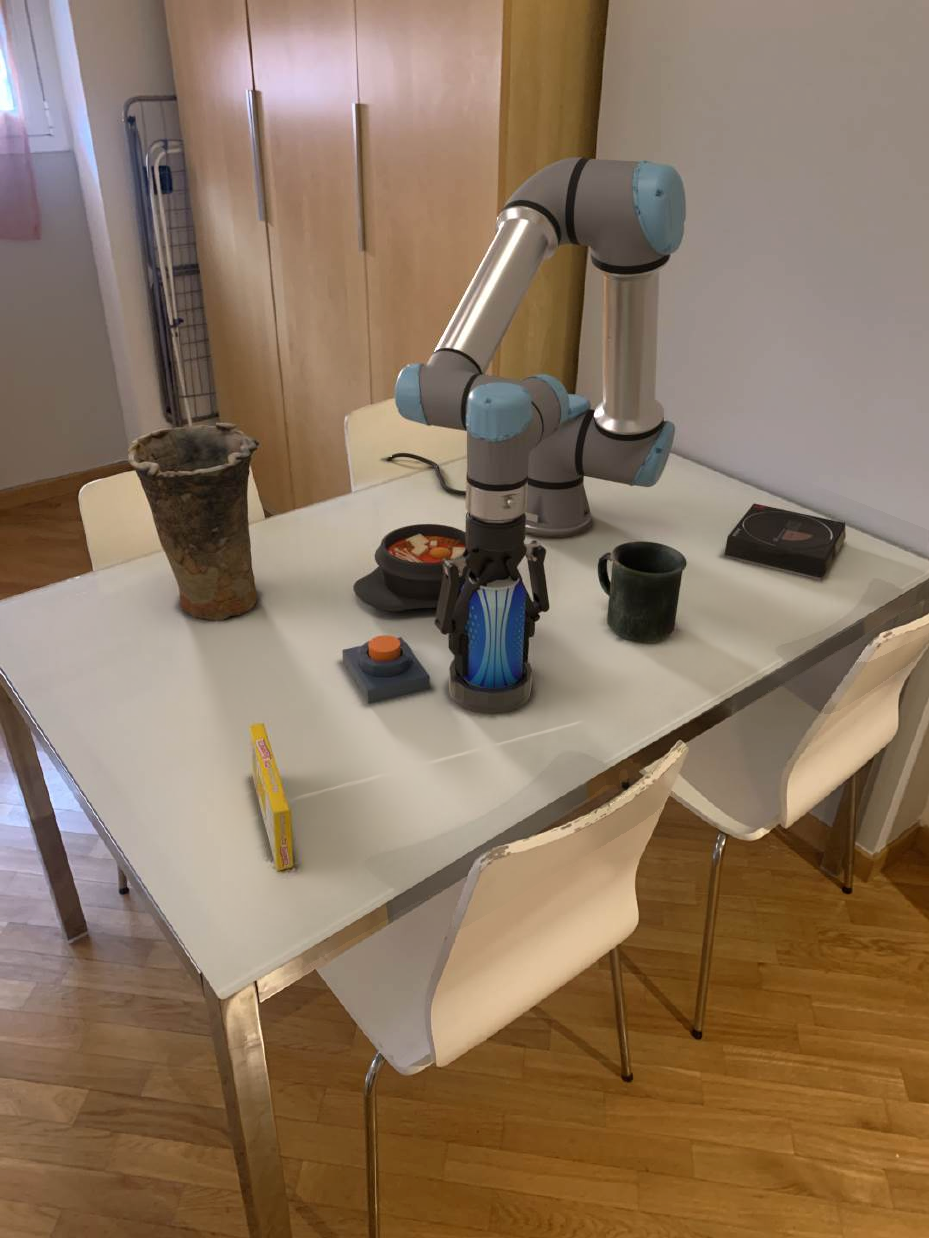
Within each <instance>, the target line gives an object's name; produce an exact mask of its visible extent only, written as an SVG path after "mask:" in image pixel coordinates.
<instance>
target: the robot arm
mask: <svg viewBox="0 0 929 1238" xmlns="http://www.w3.org/2000/svg"><path fill="white" fill-rule="evenodd" d="M686 200H687V199H686V193H685V185H684V183H683V180H682V176H681V175H680V174H679V172H678V170H677V169H676V168H675V167H673V166H672V165H669V164H667V163H666V164H665V163H657V162H656V163H655V162H652V161H650V160H641V161H637V160H636V161H635V160H620V159H601V158H586V157H578V156H577V157H568V158H564V159H560V160H558V161H555V162H553V163H550V164H548V165H547V166H545V167H543V168H541V169H540V170H538V171H537V172H536V173H534V174H533V175H532V176H530V177H529V178H528V179H527V180H526V181H524V182H523V183H522V184H521V185H520V186H519V187H518V188H517V189H516V190H515V191H514V192H513V193H512V195H511V196H510V197H509V198H508V200H507V201H506V202H505V204H504V206H503V208H502V209H501V211H500V213H499V215H498V216H497V218H496V221H495V226H494V227H495V237H494V238H493V241H492V242H491V244H490V246H489V248H488V250H487V252H486V254H485V256H484V258H483V259H482V261H481V262H480V265H479V267H478V269H477V270H476V273H475V275H474V276H473V278H472V280H471V282H470V283H469V286H468V287H467V290H466V291H465V293H464V295H463V297H462V299H461V300H460V302H459V305H458V306H457V308H456V309H455V312H454V314H453V316H452V317H451V319H450V321H449V323H448V325H447V326H446V328H445V330H444V332H443V335H442V336H441V338H440V340H439V342H438V343H437V345H436V347H435V349H434V351H433V353H432V354H431V355H430V358H429V359H428V361H427V363H425V364H424V363H409V364H407V365H406V366H405V367H403V368H402V369H401V371H400V372H399V374H398V376H397V379H396V383H395V388H394V402H395V407H396V408H397V412H398V413H399V415H400V416H401V417H402V418H403V419H405V420H407V421H411V422H415V423H418V424H422V425H425V426H427V427H428V426H429V427H431V426H434V427H440V428H446V429H452V430H458V431H463V432H466V480H465V481H466V482H465V490H459V489H454V488H452V487H449V486H448V485H446V482H445V479H444V477H443V475H442V473H441V470H440V466H439V465H438V464H437V463H436V462H435V461H433V460H430V459H428V458H426V457H423V456H420V455H417V454H413V453H410V452H396V453H393V454H391V455H392V457H390V456H391V455H389V456H388V457H387V458H386V459H385V461H386V462H391V461H392V460H395V459H397V458H408V459H413V460H416V461H419V462H422V463H425V464H427V465H430V466H431V467H433V468H434V469H435V470H434V471H435V475H436V477H437V479H438V481H439V484H440V487H441V488H442V489H443V490H444V491H445V492H447V493H449V494H452V495H457V496H465V510H466V513H465V531H464V532H465V538H466V548H465V551H464V552H463V555H462V556H461V557H458V558H456V559H453V560H451V559H450V558H448V557H446V558H444V559H443V560H442V567H443V573H444V576H443V581H442V586H441V591H440V596H439V601H438V606H437V607H436V612H435V616H434V625H435V627H436V629H438V630H439V632H440V633H441V634H442V635H446V636H447V635H448V643H447V644H448V647H447V648H448V649H449V651H450V652H451V654H452V655H453V656H454V657H453V660H454V667H455V669H456V670H457V671H458V673H459V674H460V675H461V676H462V678H463V677H467V676H468V634H467V633H466V632H465V631H464V628H465V626H466V624H467V622H468V619H469V601H470V599H471V597H472V596H473V594H474V592H475V591H476V590H480V586H484V587H486V585H487V583H491V582H493V581H496V580H505V579H508V577H509V576H510V577H511V579H512V580H513V581H517V579H518V578H520V579H519V581H520V582H521V584H522V585H523V587H524V588H525V590H526V602H525V622H524V642H523V663H525V662H529V651H530V639H531V638H533V637H534V636H535V633H536V623H537V622H539V620H540V619H541V615H540V613H547V612H549V610H550V606H551V605H550V599H549V592H548V586H547V580H546V579H547V577H546V571H545V560H546V556H547V555H546V554H547V549H546V548H545V547H544V546H543V545H542V544H541V543H539V542H538V541H537V540H535V539H534V540H531V541H530V542H529V543H525V539H526V534H527V535H532V536H535V537H543V538H563V537H564V538H565V537H571V536H575V535H578V534H581V533H582V532H584V531H585V530H587V529H588V528H589V527H590V525H591V516H592V512H591V507H590V503H589V500H588V496H587V491H586V489H585V483H584V481H585V477H587V478H593V479H598V480H602V481H607V482H613V483H617V484H618V483H619V484H622V485H628V486H630V487H634V486H637V487H643V488H652V487H653V486H655V485H656V484H657V483H658V482H659V480H661V477H662V475H663V473H664V471H665V469H666V466H667V462H668V460H669V457H670V455H671V454H670V453H671V451H672V447H673V443H674V439H675V434H676V426H675V423H673V422H672V421H670V420H665V409H664V407H663V405H662V404H661V402H659V401H658V400H657V399H656V391H657V390H656V388H657V387H656V385H657V354H658V353H657V351H658V327H659V326H658V324H659V323H658V322H659V296H660V295H659V294H660V293H659V291H660V271H661V270H662V269H663V268H664V267H665V266H666V265H667V264H668V263H669V262H670V259H671V255H672V254H675V253H676V252H677V251H678V249H679V248H680V246H681V244H682V241H683V237H684V233H685V222H686V219H687V217H686V216H687V201H686ZM563 245H575V246H583V247H589V248H590V263H591V265H592V267H593V268H594V269H595V270H596V271H598V272H599V273H600V274H601V276H600V277H601V331H602V332H601V338H602V339H601V341H602V342H601V344H602V345H601V346H602V348H601V349H602V352H601V353H602V401H601V402H599V404H598V405H597V406H596V408H595V409H593V408H592V403H591V401H590V399H589V398H588V397H586V396H584V395H581V394H574V393H573V394H571V393H568V391H567V388H566V387H565V385H563V383H562V382H561V381H560V380H559V379H557V378H556V377H554V376H553V375H549V374H546V373H538V374H534V375H531V376H527V377H525V378H523V379H515V378H510V377H503V376H496V375H489V374H486V373H487V371H488V369H489V367H490V365H491V363H492V362H493V359H494V357H495V356H496V354H497V353H498V350H499V348H500V346H501V344H502V342H503V339H504V338H505V336H506V335H507V332H508V330H509V328H510V326H511V324H512V322H513V320H514V319H515V316H516V314H517V313H518V311H519V309H520V306H521V304H522V303H523V301H524V299H525V297H526V295H527V293H528V291H529V289H530V287H531V285H532V283H533V281H534V279H535V277H536V275H537V273H538V271H539V269H540V267H541V265H542V264H543V262H546V261H548V260H549V259H551V258H552V257H553V256H554V255H555V253H556V252H557V250H558V247H560V246H563ZM436 466H437V467H436ZM524 557H525V558H526V561H527V569H528V573H529V581H530V589H531V595H532V598H531V595H530V594H529V592H528V590H527V588H526V585H525V583H524V581H523V576H522V575H521V573H520V570H519V569H518V567H519V565H520V563H521V562H522V561H523V559H524ZM465 566H468V567H469V570H468V572H467V575H466V578H465V579H466V582H465V584H464V586H463V589H462V591H461V593H460V595H459V598H458V600H457V602H456V599H457V594H458V589H459V584H460V577H459V576H462V575H463V573H462V572H463V568H464V567H465ZM476 577H477V578H478V579H477V578H476ZM469 578H470V579H471V580H472V581H473V582H474V583H475V584H472V583H471V582H470V581H469ZM464 595H465V596H466V597H464Z"/></svg>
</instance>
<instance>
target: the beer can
mask: <svg viewBox="0 0 929 1238" xmlns="http://www.w3.org/2000/svg"><path fill="white" fill-rule="evenodd" d="M476 578H477V577H476ZM477 579H478V578H477ZM519 579H520V578H518V579H517V581H513V580H512V579H511V577H510V576H509V577H508V579H505V580H496V581H493V582H491V583H487V585H486V587H484V586H480V590H476V591H475V592H474V594H473V596H472V597H471V599H470V601H469V619H468V622H467V624H466V626H465V628H464V631H465V632H466V633H467V634H468V676H467V677H463V678H464V679H465V680H466V682H467V683H468V685H470V686H473V687H476V688H479V689H487V690H496V689H504V688H508V687H512V686H513V685H514V684H515V683H516V682H517V681H518V680H519V679H520V677H521V675H522V662H523V642H524V622H525V602H526V590H527V589H526V590H525V588H526V587H525V588H524V587H523V585H522V584H521V582H520V581H519ZM469 581H470V582H471V583H472V584H475V583H474V582H473V581H472V580H471V579H470V578H469ZM463 586H464V585H463ZM462 589H463V587H462ZM461 591H462V590H461ZM464 597H466V596H465V595H464Z"/></svg>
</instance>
